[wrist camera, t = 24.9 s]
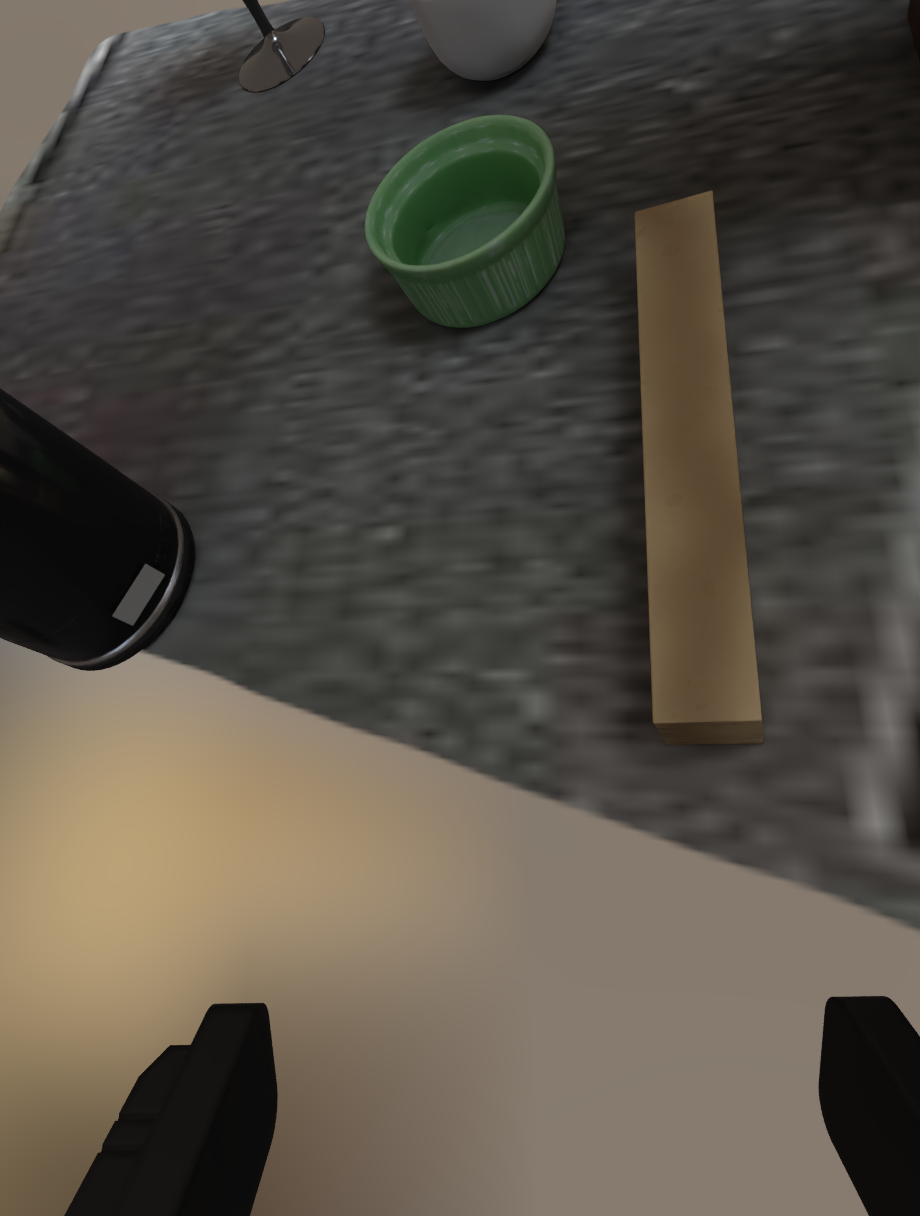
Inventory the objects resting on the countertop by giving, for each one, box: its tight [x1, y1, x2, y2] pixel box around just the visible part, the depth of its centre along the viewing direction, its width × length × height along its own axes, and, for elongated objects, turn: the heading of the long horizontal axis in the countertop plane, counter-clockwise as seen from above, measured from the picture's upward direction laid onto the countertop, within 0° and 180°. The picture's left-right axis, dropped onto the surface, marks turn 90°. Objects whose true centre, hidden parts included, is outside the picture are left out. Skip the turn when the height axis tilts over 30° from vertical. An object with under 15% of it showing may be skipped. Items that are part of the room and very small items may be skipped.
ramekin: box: [365, 115, 565, 328], centre depth 34 cm, size 9×9×4 cm
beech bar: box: [634, 191, 764, 745], centre depth 26 cm, size 3×21×3 cm, turn 176°
